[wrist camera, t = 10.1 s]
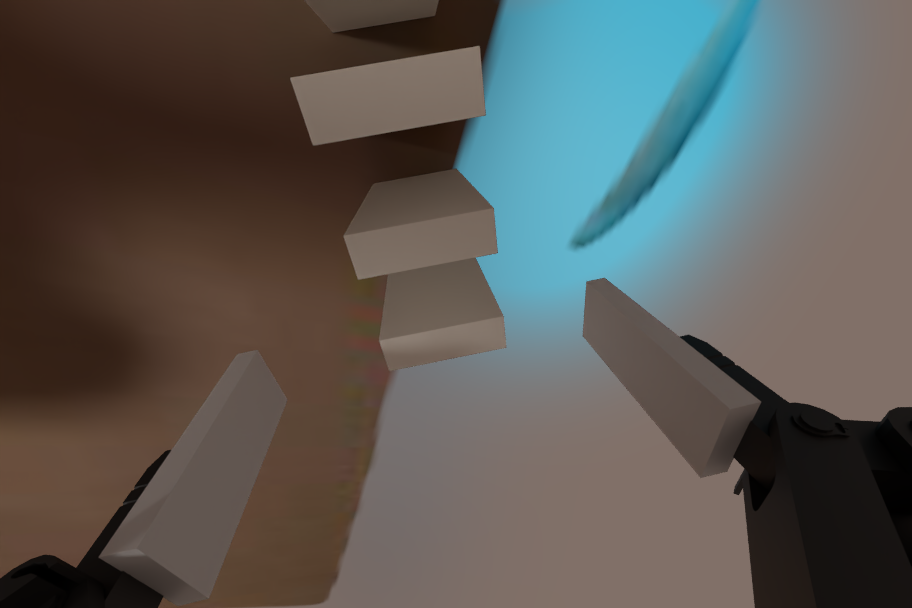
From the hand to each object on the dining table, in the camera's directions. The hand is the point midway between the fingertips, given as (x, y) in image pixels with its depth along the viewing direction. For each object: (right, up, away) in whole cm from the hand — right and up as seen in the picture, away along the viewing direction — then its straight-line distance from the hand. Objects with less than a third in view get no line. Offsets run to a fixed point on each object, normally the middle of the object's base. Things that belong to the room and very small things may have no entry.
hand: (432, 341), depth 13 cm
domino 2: (-1, +8, +6) cm, 11 cm away
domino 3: (-2, +12, +4) cm, 13 cm away
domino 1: (-1, +5, +9) cm, 10 cm away
